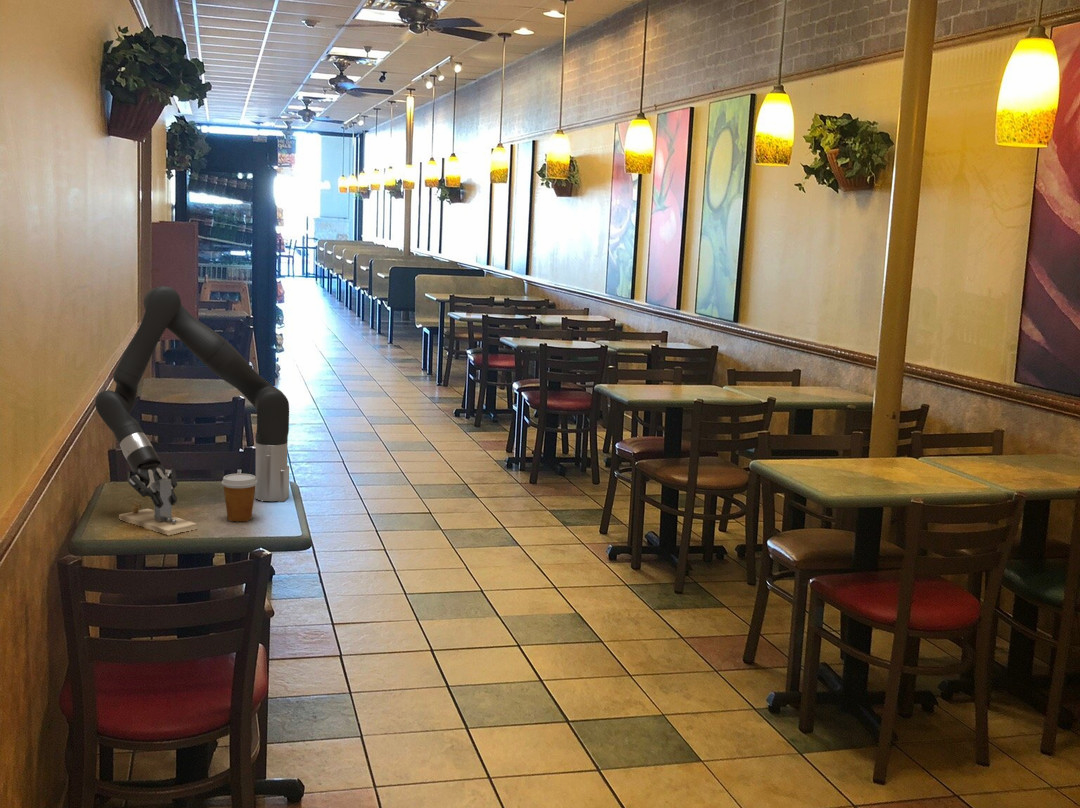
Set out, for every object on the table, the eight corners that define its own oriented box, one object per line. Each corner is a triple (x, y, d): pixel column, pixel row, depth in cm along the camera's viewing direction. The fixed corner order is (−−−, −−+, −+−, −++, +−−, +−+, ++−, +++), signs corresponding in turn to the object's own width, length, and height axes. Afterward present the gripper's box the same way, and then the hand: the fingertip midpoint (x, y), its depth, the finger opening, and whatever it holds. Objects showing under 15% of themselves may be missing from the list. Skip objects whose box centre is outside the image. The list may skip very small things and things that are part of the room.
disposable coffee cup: (255, 523, 292) (255, 481, 290) (219, 523, 290) (219, 481, 288) (258, 514, 301) (258, 473, 299) (223, 514, 300) (223, 472, 298)
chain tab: (180, 522, 284) (180, 482, 282) (169, 524, 281) (168, 484, 279) (160, 515, 289) (159, 476, 287) (149, 518, 286) (148, 478, 284)
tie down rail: (197, 529, 284) (197, 514, 284) (168, 536, 277) (168, 521, 276) (147, 513, 297) (147, 499, 296) (118, 520, 290) (118, 505, 289)
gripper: (121, 448, 281) (150, 502, 276) (167, 441, 292) (196, 492, 287) (110, 465, 285) (138, 517, 280) (156, 457, 296) (184, 507, 291)
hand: (167, 504), depth 284 cm, fingers closed on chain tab, 3 cm apart
